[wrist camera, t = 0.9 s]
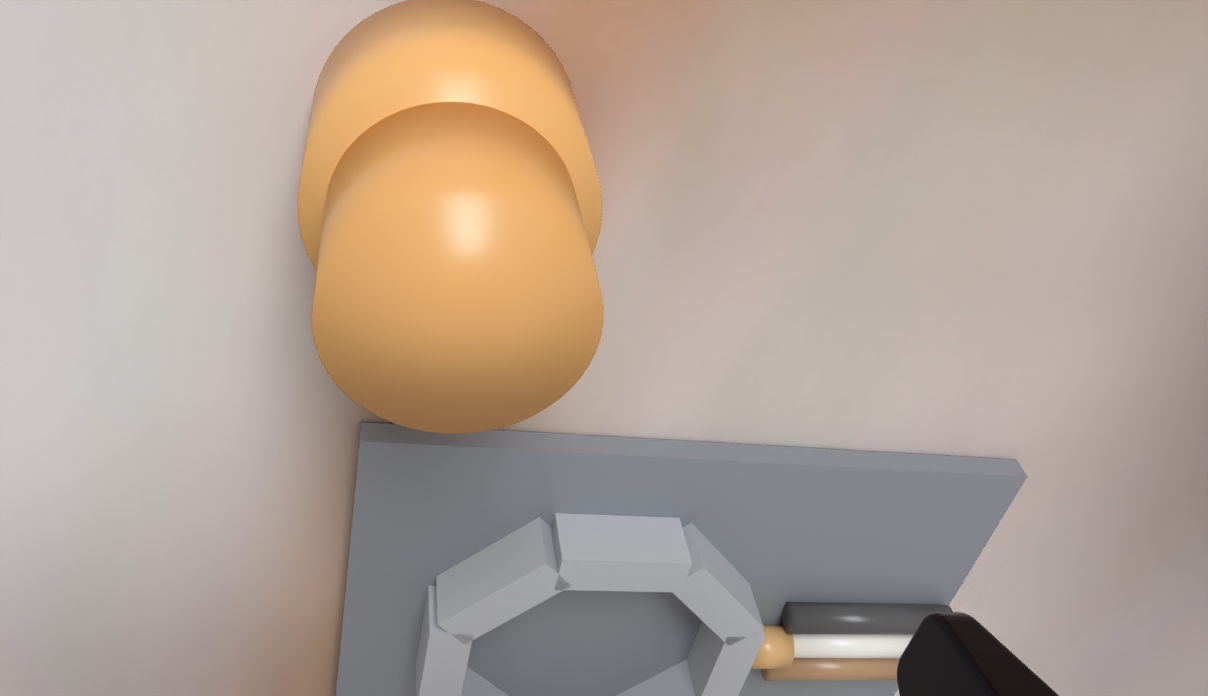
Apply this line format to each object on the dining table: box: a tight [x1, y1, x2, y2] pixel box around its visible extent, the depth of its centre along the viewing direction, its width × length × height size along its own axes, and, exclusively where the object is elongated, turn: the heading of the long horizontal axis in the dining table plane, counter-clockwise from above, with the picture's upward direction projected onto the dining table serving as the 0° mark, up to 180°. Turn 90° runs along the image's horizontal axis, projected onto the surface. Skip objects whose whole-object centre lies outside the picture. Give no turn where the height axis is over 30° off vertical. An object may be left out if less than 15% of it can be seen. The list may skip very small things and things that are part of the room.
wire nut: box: [297, 0, 604, 434], centre depth 16 cm, size 5×5×6 cm
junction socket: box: [335, 422, 1027, 696], centre depth 27 cm, size 16×12×2 cm
